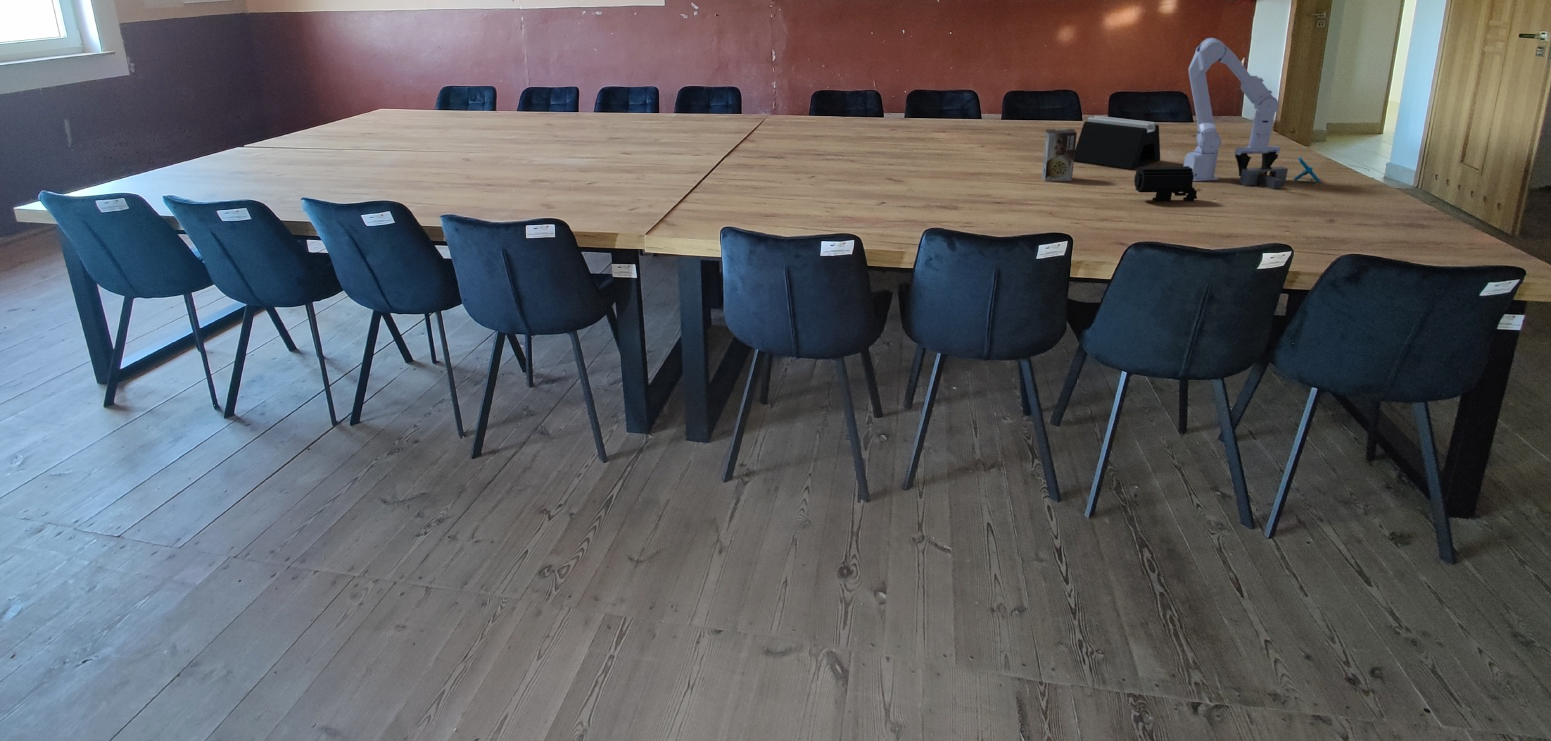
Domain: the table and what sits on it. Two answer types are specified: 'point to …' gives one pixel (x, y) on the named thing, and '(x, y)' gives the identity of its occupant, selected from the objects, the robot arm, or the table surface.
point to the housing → (1251, 174)
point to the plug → (1268, 181)
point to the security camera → (1166, 182)
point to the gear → (1306, 171)
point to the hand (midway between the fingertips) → (1252, 176)
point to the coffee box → (1059, 154)
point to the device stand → (1118, 143)
